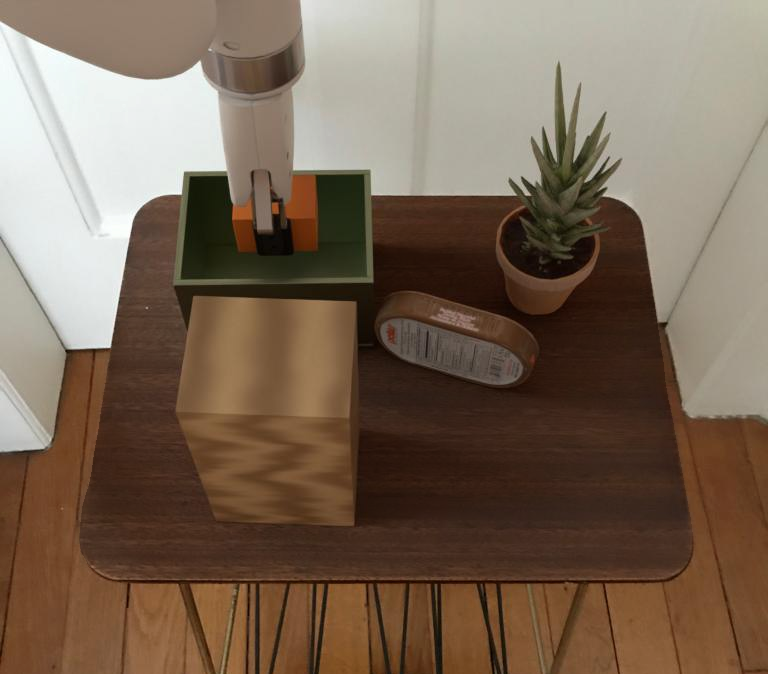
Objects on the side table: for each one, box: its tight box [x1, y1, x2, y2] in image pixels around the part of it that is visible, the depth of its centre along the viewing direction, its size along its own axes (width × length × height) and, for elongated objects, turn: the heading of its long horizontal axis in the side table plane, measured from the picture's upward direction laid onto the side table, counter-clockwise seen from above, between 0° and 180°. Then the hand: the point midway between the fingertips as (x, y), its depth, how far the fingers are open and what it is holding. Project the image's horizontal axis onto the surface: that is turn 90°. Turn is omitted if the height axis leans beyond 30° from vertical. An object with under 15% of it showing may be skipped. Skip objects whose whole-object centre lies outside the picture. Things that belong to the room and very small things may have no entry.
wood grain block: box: [174, 296, 361, 527], centre depth 72 cm, size 12×10×18 cm
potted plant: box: [495, 60, 623, 316], centre depth 78 cm, size 10×10×25 cm
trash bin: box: [172, 169, 375, 349], centre depth 84 cm, size 13×17×10 cm
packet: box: [232, 175, 318, 252], centre depth 79 cm, size 7×5×4 cm
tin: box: [374, 290, 540, 389], centre depth 81 cm, size 15×3×8 cm, turn 71°
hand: (276, 226), depth 80 cm, fingers closed on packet, 5 cm apart
